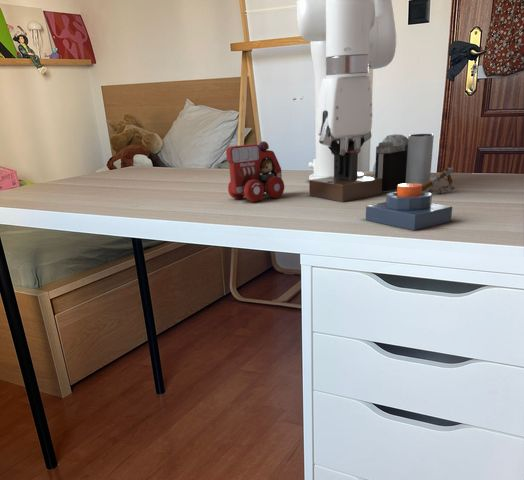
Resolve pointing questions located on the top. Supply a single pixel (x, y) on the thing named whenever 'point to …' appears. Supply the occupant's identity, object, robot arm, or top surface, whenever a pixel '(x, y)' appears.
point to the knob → (351, 166)
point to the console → (345, 188)
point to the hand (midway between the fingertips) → (345, 175)
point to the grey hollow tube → (419, 158)
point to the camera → (391, 161)
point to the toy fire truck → (254, 172)
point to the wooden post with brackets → (438, 178)
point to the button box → (409, 211)
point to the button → (409, 189)
